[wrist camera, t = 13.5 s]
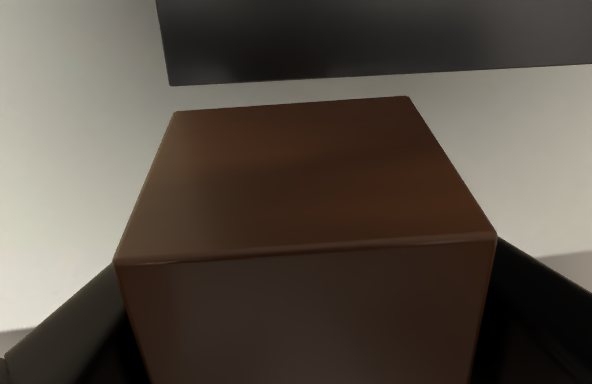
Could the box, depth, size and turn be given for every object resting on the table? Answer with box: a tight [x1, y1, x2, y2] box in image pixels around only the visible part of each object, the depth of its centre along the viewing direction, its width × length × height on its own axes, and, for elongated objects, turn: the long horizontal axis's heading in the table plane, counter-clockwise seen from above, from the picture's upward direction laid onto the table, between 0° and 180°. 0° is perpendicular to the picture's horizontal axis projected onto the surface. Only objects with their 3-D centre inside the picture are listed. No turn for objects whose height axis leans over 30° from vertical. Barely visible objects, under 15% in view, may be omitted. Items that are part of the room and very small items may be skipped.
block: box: [112, 96, 498, 384], centre depth 8 cm, size 4×4×4 cm
